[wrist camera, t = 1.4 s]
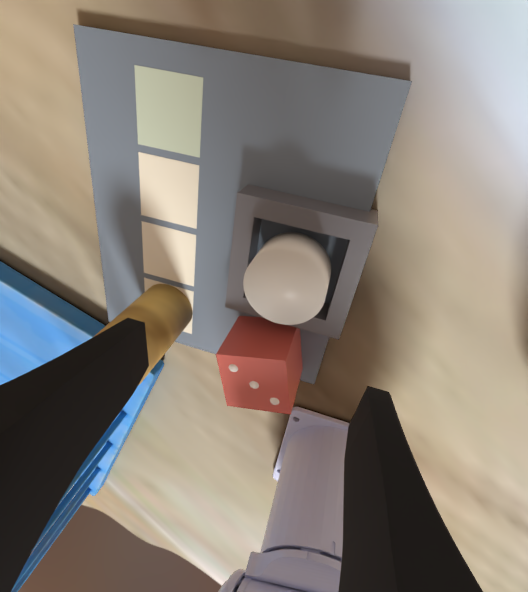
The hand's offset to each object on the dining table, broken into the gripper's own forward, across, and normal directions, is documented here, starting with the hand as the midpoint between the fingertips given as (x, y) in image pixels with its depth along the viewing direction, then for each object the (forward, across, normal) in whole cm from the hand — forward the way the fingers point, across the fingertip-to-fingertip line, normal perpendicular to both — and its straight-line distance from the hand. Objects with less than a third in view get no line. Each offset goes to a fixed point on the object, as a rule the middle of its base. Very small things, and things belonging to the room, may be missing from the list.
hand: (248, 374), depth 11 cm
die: (+10, 0, +8) cm, 12 cm away
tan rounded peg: (+10, +8, +7) cm, 14 cm away
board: (+11, +5, +1) cm, 12 cm away
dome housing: (+11, 0, +1) cm, 11 cm away
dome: (+9, 0, +1) cm, 9 cm away
